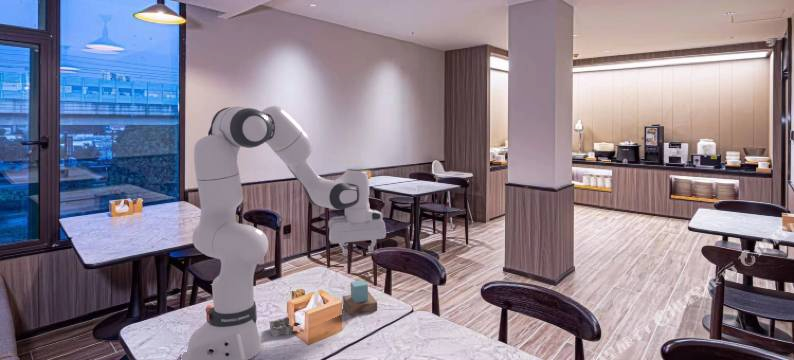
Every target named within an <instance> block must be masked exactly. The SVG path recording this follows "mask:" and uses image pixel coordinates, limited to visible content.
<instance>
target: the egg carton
mask: <svg viewBox="0 0 794 360" xmlns="http://www.w3.org/2000/svg"><path fill="white" fill-rule="evenodd" d="M288 317H289V316H285V318H279V319H277V320H270V321H269V323H268V324H269V327H270V329H269V330H271V331H270V336H271V335H272V336H273V335H274V336H273V337H275V336H276V337H279V336H280V335H284V334H285V335H286V336H287V335H290V334H291V333H293V332H292V331H293V326H295V325H296V324H294V325H293V326H291V325H290V326H288V324H289V318H288ZM283 333H284V334H283ZM279 334H280V335H279Z"/></svg>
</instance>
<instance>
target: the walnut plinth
mask: <svg viewBox="0 0 794 360" xmlns="http://www.w3.org/2000/svg"><path fill="white" fill-rule="evenodd" d="M342 304H343V306H344V308H345V309H346V311H347V313H348V314H349V315H350V316H352V315H358V314H363V313H370V312H374V311H378V301H377V300H376V299H375V297H374V296H373V295H372V293H370V291H368V301H364V302H357V303H354V301H353V300H352V298H351V294H348V295H343V296H342Z"/></svg>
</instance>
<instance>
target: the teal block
mask: <svg viewBox="0 0 794 360" xmlns="http://www.w3.org/2000/svg"><path fill="white" fill-rule="evenodd" d="M368 292H369V285H368V283H367V282H366V281H365V280H364V279H362V280H356V281H354V280H353V281H350V295H351V298H352V300H353V301H354V303H357V302H364V301H368Z"/></svg>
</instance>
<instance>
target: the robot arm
mask: <svg viewBox="0 0 794 360" xmlns="http://www.w3.org/2000/svg"><path fill="white" fill-rule="evenodd" d="M211 120H212V121H211V123H210V127H209V130H208V133H207V135H206V136H203V137H201V138H200V139H199V140H197V141H196V142H195V145H194V151H193V155H194V156H193V158H194V161H193V163H194V172H195V178H196V183H197V189H198V194H199V195H198V196H199V202H200V214H199V215H200V217H199V223H198V225H197V226H196V227H195V229H194V230H193V232H192V244H193V246H194V247H195V249H196V250H197V251H198V252H200V253H202V254H203V255H205V256H207V257H210V258H214V259H218V260H220V263H221V264H220V265H221V266H220V270H219V271H220V272H219V274H218V275H217V276H216V277H215V278H214V280H213V281H212V284H211V289H212V303H213V305H211V304H210V305H209V304H208V305H207V306H206V307H205V313H206V322H205V323H203V324H202V325H201V326H200V327H198V328H197V329H196V330H194V332H193V333H192V334H191V335H190V338H189V341H188V344H187V347H186V348H184V350H186V349H187V348H188V349H187V352H184V353H183V352H182V353H183V355H182V357H181V356H180V357H181V359H182V360H248V359H249V360H251V359H253V358H255V357H257V355H258V354H260V353H261V351H262V350H263V347H264V345H263V342H262V341H261V337H260V334H259V330H258V327H257V319H258V312H257V305H256V301H255V298H254V295H255V294H254V275H255V272H256V267H257V265H258V263H259V262H260V261H262V259H264V258H265V256H266V255H267V252H268V248H269V240H268V237H267V235H266V233H265V232H264V231H262V230H260V229H258V228H257V227H255V226H253V225H250V224H245V223H239V222H238V221H237V217H236V214H237V208H238V207H239V206H240V205H241V203H242V202H243V200H244V195H243V188H242V182H241V176H240V171H239V165H238V155H239V151H240V149H241V148H248V149H251V148H256V147H259V146H261V145H264V144H267V145H268V146H269V148H270V149H271V150H272V151H273V152H274V153H275V154H276V156H277V157H279V158H280V160H281V161H282V162H283V163H284V164H285V166H286V167H287V168H288V170H289V171H290V172H291V173H292V175H293V176H294V177H295V178H296V180H297V181H298V182H299V183H300V185H301V186H302V188H303V189H304V192H305V195H306V198H307V201H308V202H309V203H310V204H311V205H313V206H314V207H318V208H319V207H320V208H327V209H331V210H335V211H336V210H338V211H342V210H344V215H341V216H340V215H339V216H332V217H331V218H329V220H328V222H327V224H328V225H327V226H328V230H329V231H328V233H329V234H328V240H329V242H330V243H331V244H338V245H339V246H340V248H341V250H342V254H343V256H345V255H346V256H347V255H348V254H349V253H348V252H349V251H348V248H345V247H344V246H345V243H354V242H361V241H362V242H363V241H371V244H370V245H368V247H367V251H368V252H369V253H371V252H372V253H373V252H374V251H375V250H374V248H375V245H376V244H377V240H381V239H385V238H386V236H387V229H386V227H387V226H386V223H385V220H383V219H384V214H383V212H380V211H379V210H377V209H373V208H370V206H371V205H370V201H369V198H370V180H369V176H368V173H367V172H366V171H365V170H361V169H354V168H353V169H352V168H349V169H346V170H345V172H344V173H343V174H342V175H340V176H339V177H337V178H336V179H334V180H333V179H328V178H324V177H322V176H320V175H318V173H317V172H316V171H315V170H314V169H313V167H312V165H311V164H310V163H309V162H308V159H309V158H310V156H311V155H312V151H313V142H312V140H311V138H310V136H309V135H308V133H307V132H306V131H305V130H304V129H303V127H302V126H301V125H300V124H299V122H297V121H296V120H295V118H293V116H291V115H290V114H289V113H288V112H287V111H285V110H284V109H283V108H282V107H280V106H276V105H271V106H268V107H265V108H264V109H263V110H262V111H261V110H258V109H255V108H251V107H244V106H231V107H224V108H222V109H220V110H218V111H217V112H216V113H215V114H214V116H213V117H212V119H211ZM254 356H255V357H254ZM181 359H180V358H179V360H181Z"/></svg>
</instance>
